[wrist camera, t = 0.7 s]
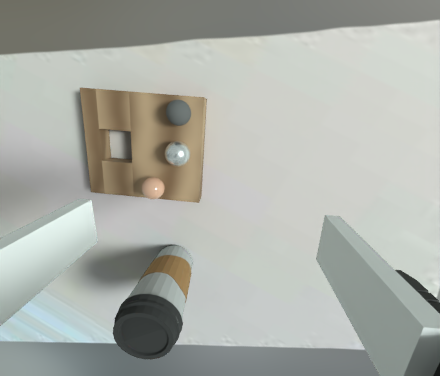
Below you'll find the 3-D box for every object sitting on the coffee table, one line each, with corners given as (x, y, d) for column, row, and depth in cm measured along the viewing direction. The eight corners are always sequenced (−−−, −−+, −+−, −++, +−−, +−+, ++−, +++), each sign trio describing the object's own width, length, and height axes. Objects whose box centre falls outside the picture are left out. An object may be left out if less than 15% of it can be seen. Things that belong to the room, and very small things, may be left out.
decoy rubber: (169, 124, 30) (162, 125, 27) (170, 99, 29) (162, 97, 26) (192, 126, 30) (188, 127, 27) (193, 101, 29) (188, 99, 26)
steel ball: (168, 162, 32) (161, 167, 29) (169, 138, 31) (161, 141, 28) (191, 164, 32) (187, 169, 29) (192, 141, 31) (187, 143, 28)
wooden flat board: (100, 187, 37) (91, 192, 34) (91, 89, 32) (79, 87, 30) (201, 197, 36) (198, 202, 34) (206, 99, 31) (204, 97, 29)
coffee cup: (145, 248, 40) (94, 321, 25) (185, 232, 38) (155, 300, 24) (167, 283, 42) (132, 369, 27) (206, 269, 40) (190, 352, 26)
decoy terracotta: (146, 193, 34) (138, 201, 31) (146, 173, 33) (137, 179, 30) (167, 195, 34) (160, 203, 31) (167, 175, 33) (160, 181, 30)
